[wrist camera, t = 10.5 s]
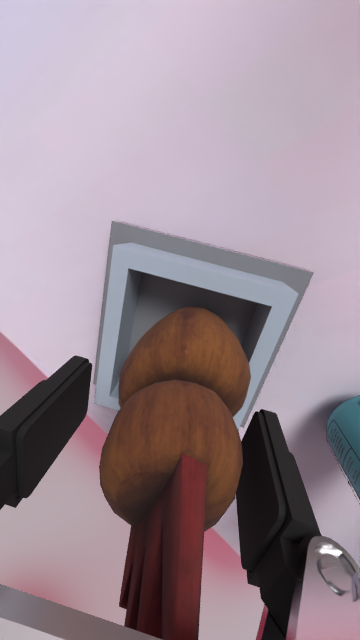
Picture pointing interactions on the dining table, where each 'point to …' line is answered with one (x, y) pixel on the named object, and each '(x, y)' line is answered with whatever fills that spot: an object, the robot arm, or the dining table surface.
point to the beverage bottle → (347, 439)
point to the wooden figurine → (174, 463)
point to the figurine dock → (191, 300)
